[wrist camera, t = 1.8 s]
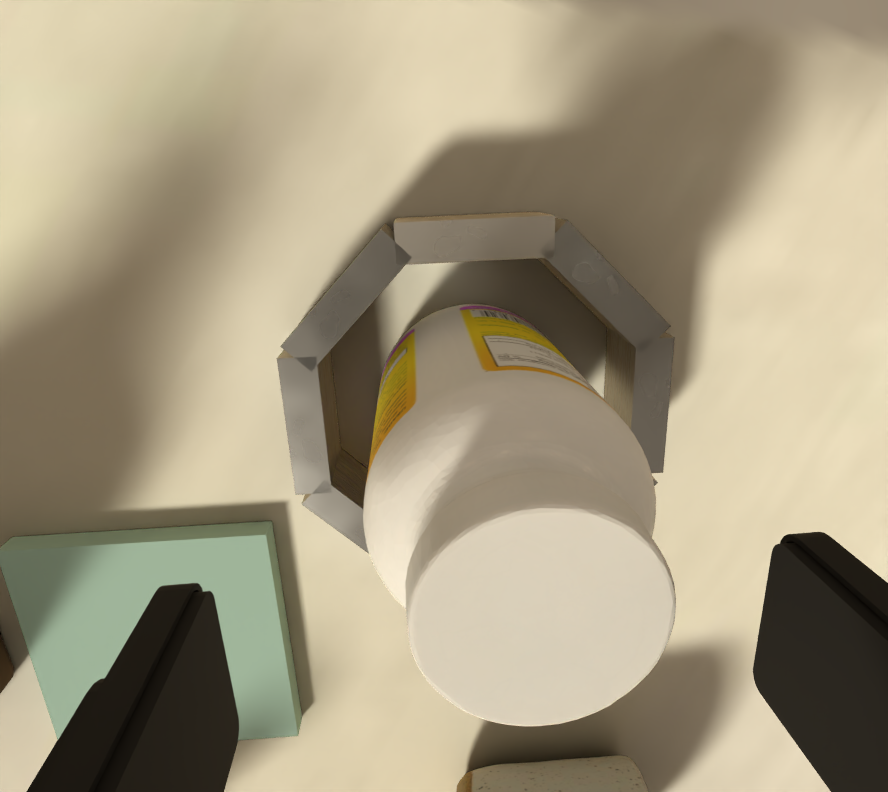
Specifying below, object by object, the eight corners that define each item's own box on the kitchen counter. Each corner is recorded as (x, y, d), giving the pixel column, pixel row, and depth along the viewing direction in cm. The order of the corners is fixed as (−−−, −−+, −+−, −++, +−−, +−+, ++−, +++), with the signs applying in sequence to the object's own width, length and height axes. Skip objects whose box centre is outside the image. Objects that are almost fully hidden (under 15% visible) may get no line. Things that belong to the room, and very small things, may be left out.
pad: (271, 520, 24) (265, 534, 23) (302, 716, 27) (298, 735, 26) (12, 537, 23) (-5, 551, 22) (74, 733, 27) (62, 753, 26)
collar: (647, 206, 21) (685, 209, 18) (626, 524, 25) (654, 568, 22) (280, 223, 20) (259, 229, 17) (321, 544, 24) (309, 591, 21)
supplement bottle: (418, 492, 24) (424, 812, 12) (352, 338, 22) (274, 531, 9) (580, 436, 23) (764, 707, 11) (530, 272, 21) (689, 387, 9)
